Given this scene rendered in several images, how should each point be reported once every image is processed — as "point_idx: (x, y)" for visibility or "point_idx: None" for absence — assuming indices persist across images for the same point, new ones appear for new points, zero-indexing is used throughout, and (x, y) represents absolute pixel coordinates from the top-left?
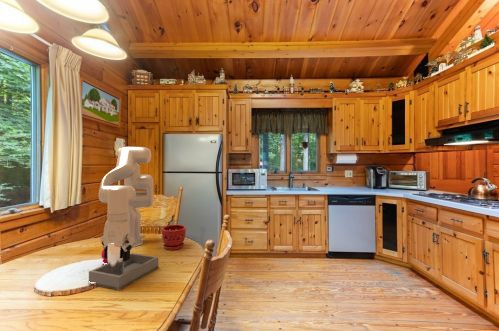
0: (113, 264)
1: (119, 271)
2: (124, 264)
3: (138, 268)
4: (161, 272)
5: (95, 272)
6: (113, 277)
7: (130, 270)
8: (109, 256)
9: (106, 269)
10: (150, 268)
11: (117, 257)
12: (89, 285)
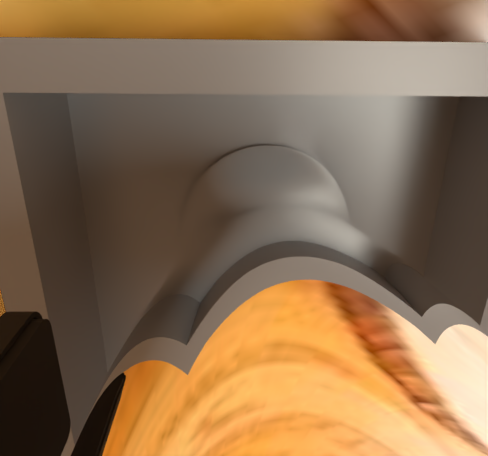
0: (230, 226)
1: (189, 239)
2: None
3: None
4: None
5: (462, 47)
6: (67, 38)
7: (22, 278)
8: (335, 274)
9: (457, 272)
10: None
11: (134, 332)
12: (453, 21)
